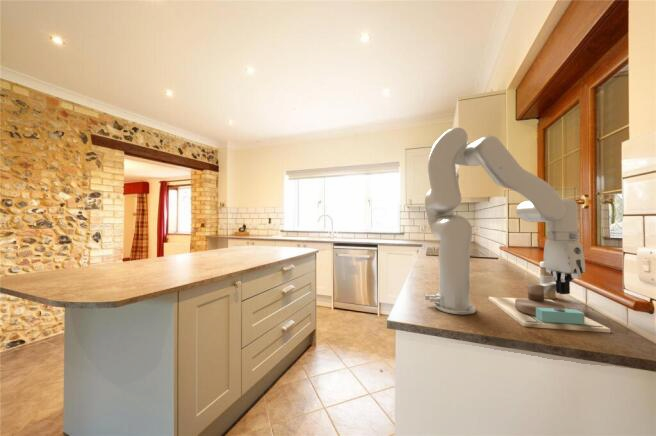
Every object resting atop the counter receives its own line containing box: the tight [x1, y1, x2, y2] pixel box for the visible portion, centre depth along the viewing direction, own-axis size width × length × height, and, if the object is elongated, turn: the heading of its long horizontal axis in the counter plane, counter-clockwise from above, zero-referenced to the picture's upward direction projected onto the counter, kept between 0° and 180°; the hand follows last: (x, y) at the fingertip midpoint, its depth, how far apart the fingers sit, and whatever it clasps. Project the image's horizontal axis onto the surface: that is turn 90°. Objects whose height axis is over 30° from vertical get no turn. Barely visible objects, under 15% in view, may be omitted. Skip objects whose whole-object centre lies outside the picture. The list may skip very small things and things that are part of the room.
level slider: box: [536, 307, 585, 325], centre depth 72 cm, size 10×3×3 cm, turn 78°
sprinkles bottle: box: [539, 260, 557, 300], centre depth 98 cm, size 5×5×14 cm
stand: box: [488, 296, 612, 333], centre depth 82 cm, size 20×25×1 cm
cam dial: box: [515, 280, 566, 316], centre depth 83 cm, size 22×16×7 cm
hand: (562, 293), depth 84 cm, fingers closed
